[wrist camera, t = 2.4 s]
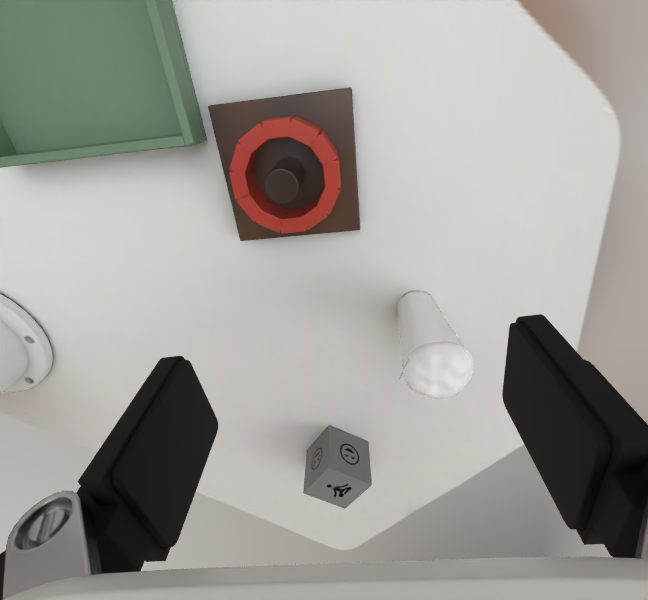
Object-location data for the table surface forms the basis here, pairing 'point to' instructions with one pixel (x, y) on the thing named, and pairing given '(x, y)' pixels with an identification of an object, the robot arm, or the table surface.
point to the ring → (255, 199)
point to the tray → (92, 80)
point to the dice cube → (337, 468)
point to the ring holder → (292, 157)
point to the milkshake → (430, 348)
